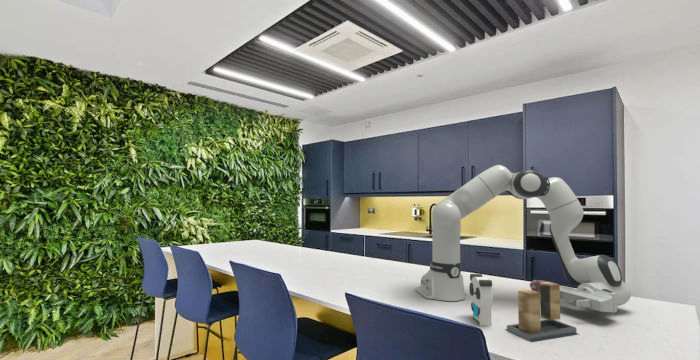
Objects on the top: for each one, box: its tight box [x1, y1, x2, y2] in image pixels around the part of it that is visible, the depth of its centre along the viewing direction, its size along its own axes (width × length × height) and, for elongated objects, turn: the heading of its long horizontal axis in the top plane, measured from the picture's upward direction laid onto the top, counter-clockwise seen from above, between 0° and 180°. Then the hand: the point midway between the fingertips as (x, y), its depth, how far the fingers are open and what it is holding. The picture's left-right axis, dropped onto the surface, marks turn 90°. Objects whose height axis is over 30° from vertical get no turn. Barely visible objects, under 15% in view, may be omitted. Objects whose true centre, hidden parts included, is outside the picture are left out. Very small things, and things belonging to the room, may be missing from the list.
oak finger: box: [540, 281, 561, 320], centre depth 116 cm, size 4×4×12 cm
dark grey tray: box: [504, 319, 580, 343], centre depth 103 cm, size 10×18×2 cm, turn 110°
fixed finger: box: [517, 288, 541, 333], centre depth 102 cm, size 4×4×12 cm
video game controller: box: [529, 279, 547, 293], centre depth 150 cm, size 10×5×7 cm, turn 48°
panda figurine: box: [469, 273, 494, 327], centre depth 112 cm, size 12×11×15 cm
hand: (562, 299), depth 118 cm, fingers open, 8 cm apart
